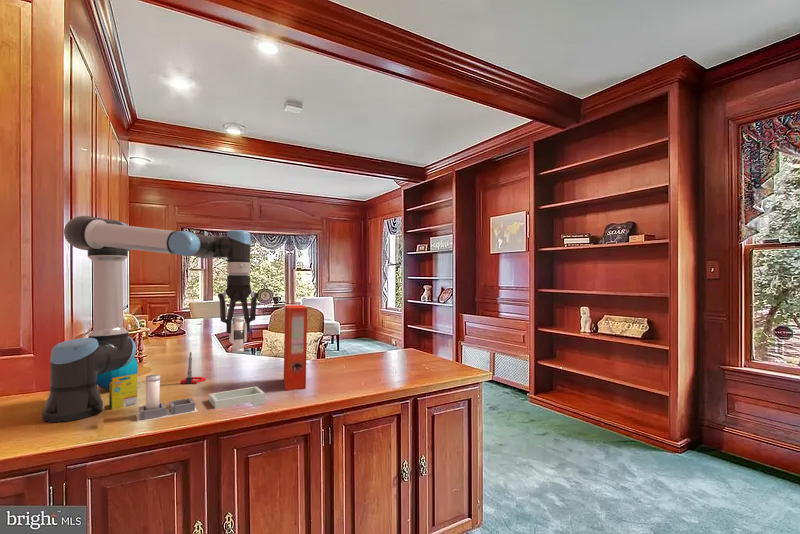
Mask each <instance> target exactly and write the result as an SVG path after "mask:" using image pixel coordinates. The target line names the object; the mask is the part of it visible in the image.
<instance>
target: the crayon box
mask: <svg viewBox="0 0 800 534" xmlns="http://www.w3.org/2000/svg"><path fill="white" fill-rule="evenodd" d="M124 377H126V378H127V377H130V379H126V380H121V381H120V380H119V379H122V378H124ZM108 394H109V396H108V397H109V399H108V401H109V403H108V404H109V405H108V407H109V408H108V409H110V410H111V411H112V410H117V409H123V408H126V407H130V406H136V405H138V373H137V374H133V375H127V376H121V377H116V378H112V382H111V383H109V393H108Z"/></svg>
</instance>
